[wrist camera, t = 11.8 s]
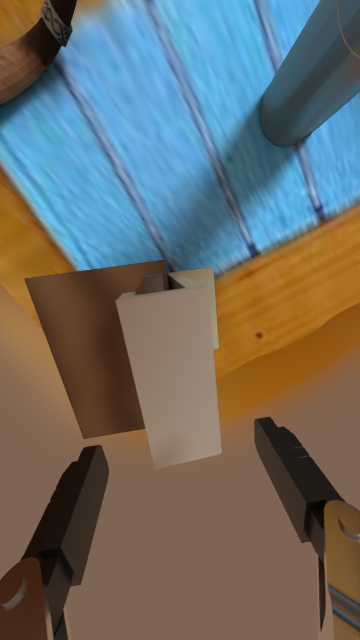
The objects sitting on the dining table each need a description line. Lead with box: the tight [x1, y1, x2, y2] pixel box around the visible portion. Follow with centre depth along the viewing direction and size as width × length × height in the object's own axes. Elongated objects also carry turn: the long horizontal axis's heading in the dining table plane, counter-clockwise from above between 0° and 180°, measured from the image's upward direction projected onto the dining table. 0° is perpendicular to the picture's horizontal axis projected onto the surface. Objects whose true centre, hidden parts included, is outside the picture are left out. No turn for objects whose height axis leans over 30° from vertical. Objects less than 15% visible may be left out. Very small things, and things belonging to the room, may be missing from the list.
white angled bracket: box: [116, 267, 222, 469], centre depth 23 cm, size 12×14×20 cm
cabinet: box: [25, 260, 169, 439], centre depth 26 cm, size 12×18×25 cm, turn 7°
